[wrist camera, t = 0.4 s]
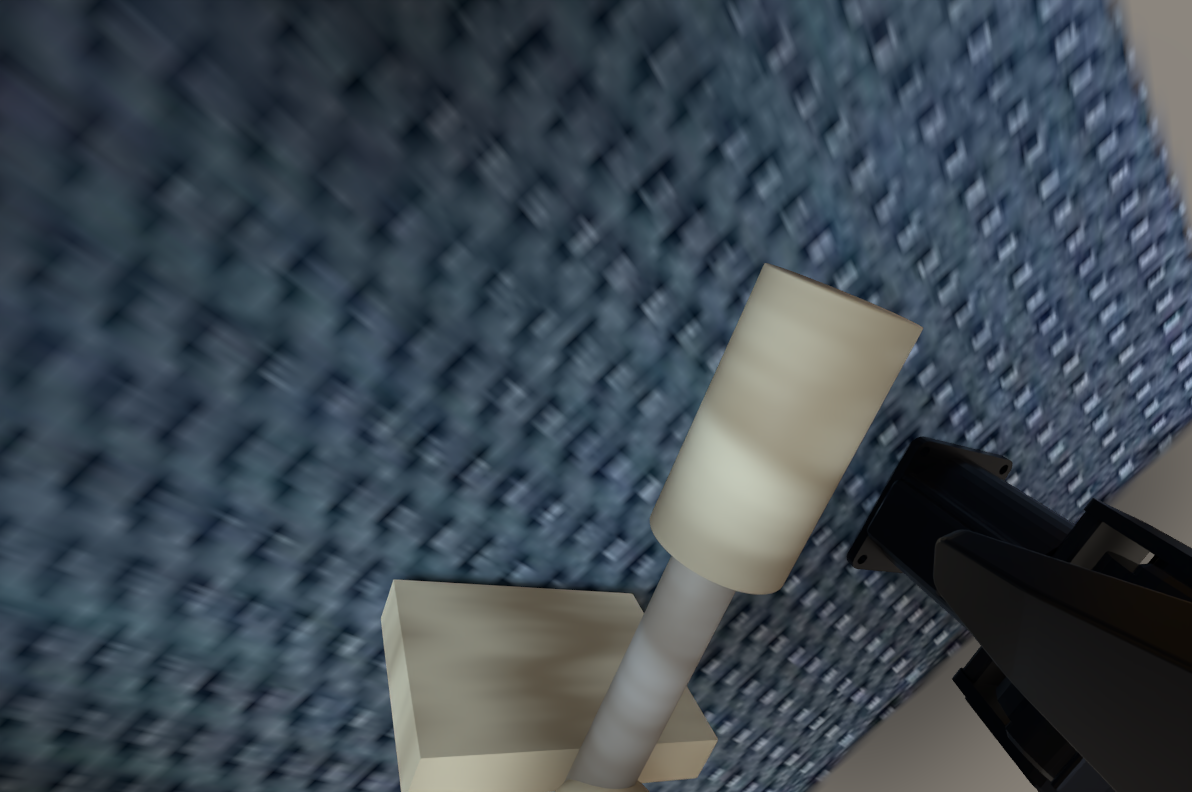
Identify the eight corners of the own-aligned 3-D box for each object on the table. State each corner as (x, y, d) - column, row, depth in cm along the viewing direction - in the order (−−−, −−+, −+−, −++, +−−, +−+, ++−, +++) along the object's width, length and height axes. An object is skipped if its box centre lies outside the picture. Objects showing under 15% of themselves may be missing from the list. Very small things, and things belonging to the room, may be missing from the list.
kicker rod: (787, 258, 21) (1093, 394, 13) (609, 642, 26) (749, 921, 18) (528, 161, 17) (730, 267, 9) (374, 637, 22) (411, 997, 14)
